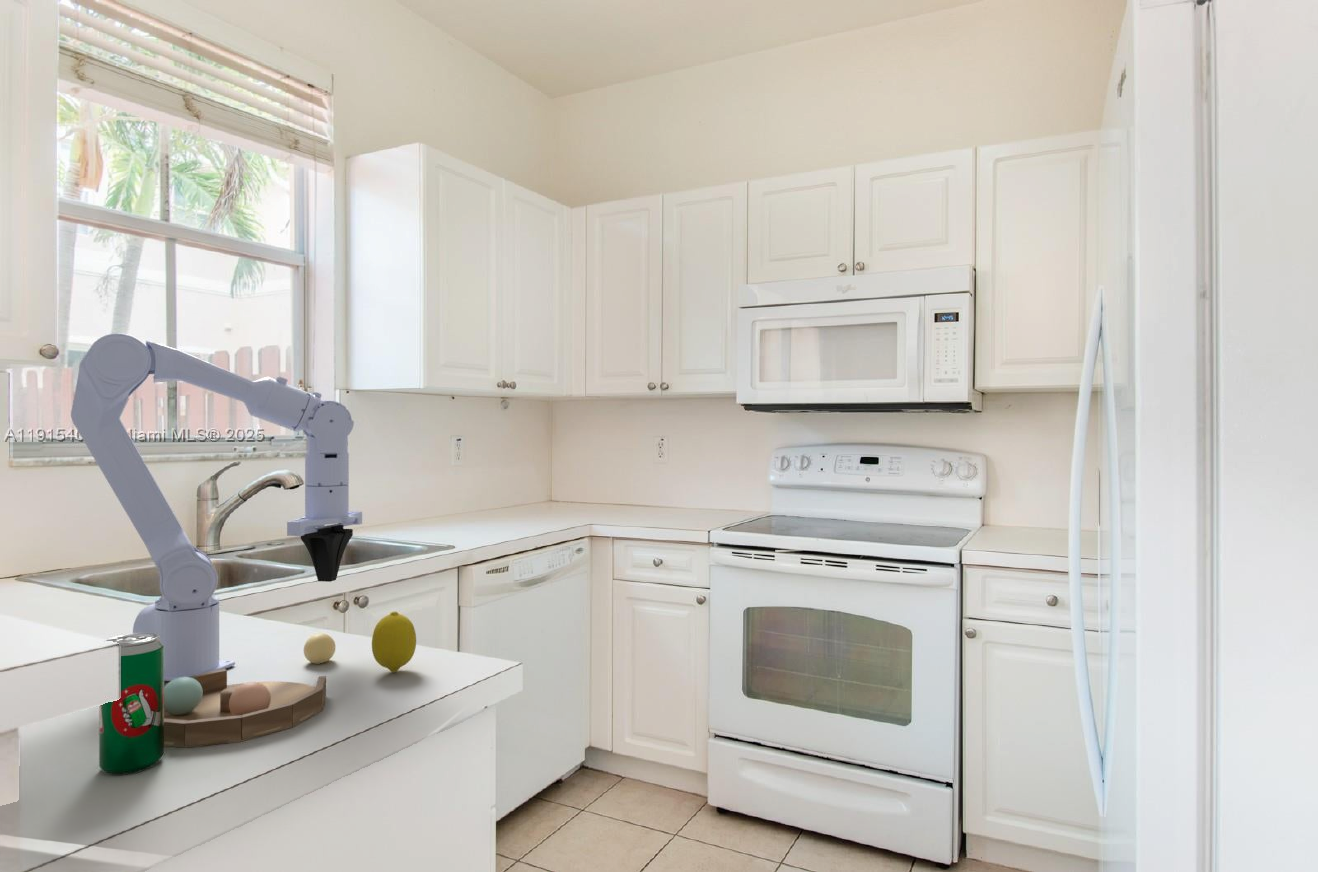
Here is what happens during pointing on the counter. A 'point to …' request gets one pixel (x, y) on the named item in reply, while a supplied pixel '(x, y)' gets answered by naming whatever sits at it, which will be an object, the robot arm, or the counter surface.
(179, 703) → the bead teal
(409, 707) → the counter surface
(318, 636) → the pale yellow ball
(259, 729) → the groove tray
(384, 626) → the lemon
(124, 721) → the soda can
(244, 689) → the bead terracotta
